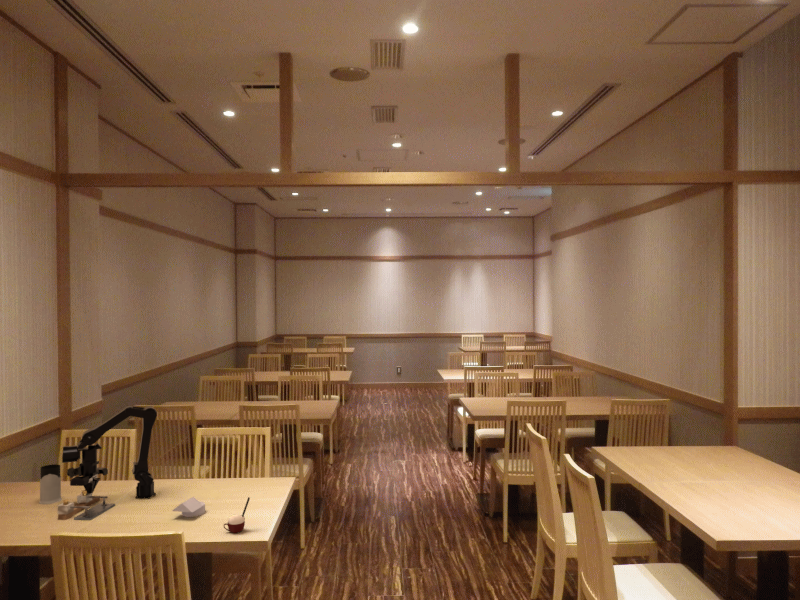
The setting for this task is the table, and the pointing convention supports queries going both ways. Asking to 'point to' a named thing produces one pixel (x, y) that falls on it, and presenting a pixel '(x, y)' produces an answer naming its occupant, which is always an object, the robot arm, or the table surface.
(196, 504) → the wedge on round base
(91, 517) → the flange plate
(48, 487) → the glass holder
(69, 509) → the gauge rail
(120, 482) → the table surface
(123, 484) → the table surface
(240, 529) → the cocoa
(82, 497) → the carriage
